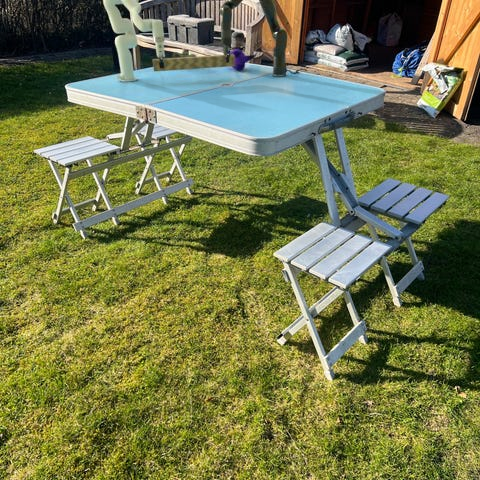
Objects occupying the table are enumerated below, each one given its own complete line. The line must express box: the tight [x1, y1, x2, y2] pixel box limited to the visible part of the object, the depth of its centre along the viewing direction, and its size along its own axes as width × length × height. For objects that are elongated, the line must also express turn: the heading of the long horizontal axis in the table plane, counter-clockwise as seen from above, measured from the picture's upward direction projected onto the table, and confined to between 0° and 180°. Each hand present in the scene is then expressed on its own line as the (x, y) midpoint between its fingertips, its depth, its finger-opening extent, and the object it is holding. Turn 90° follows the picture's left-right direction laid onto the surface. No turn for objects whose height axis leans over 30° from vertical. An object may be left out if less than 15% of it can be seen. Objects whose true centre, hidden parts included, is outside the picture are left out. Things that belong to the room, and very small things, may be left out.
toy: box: [230, 48, 258, 72], centre depth 368 cm, size 16×18×27 cm
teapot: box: [172, 48, 198, 58], centre depth 382 cm, size 21×12×15 cm, turn 109°
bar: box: [151, 54, 235, 73], centre depth 324 cm, size 59×5×8 cm, turn 105°
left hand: (161, 67), depth 320 cm, fingers closed on bar, 4 cm apart
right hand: (227, 61), depth 330 cm, fingers closed on bar, 4 cm apart
